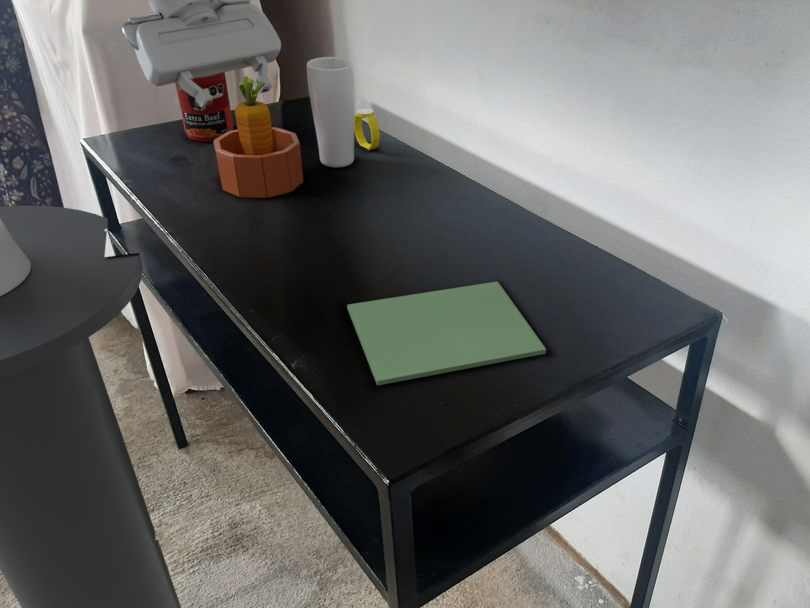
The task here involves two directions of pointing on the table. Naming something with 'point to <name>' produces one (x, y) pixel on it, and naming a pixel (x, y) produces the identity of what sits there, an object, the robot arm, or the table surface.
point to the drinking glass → (333, 108)
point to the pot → (259, 165)
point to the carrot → (253, 121)
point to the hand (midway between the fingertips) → (237, 97)
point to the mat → (441, 332)
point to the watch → (373, 126)
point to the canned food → (206, 110)
